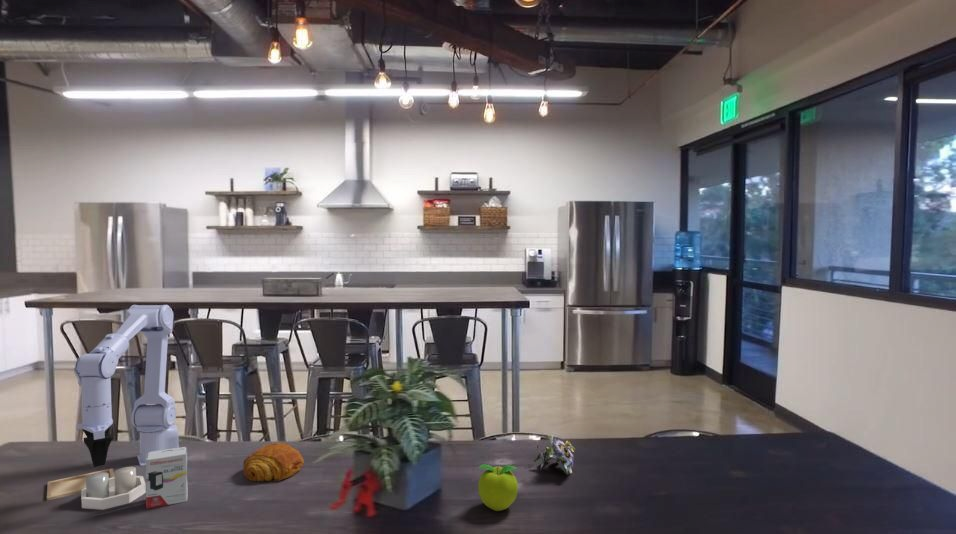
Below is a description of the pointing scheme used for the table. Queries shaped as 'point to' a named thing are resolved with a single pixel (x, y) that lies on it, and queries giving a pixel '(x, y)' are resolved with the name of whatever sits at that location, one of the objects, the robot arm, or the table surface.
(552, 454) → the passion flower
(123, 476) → the grey rounded cylinder
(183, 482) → the ink box
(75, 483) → the oak tray
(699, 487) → the table surface
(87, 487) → the stone
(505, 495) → the fruit
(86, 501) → the white octagonal dish
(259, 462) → the croissant
